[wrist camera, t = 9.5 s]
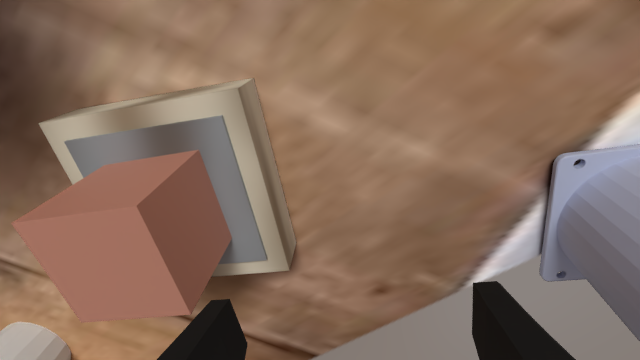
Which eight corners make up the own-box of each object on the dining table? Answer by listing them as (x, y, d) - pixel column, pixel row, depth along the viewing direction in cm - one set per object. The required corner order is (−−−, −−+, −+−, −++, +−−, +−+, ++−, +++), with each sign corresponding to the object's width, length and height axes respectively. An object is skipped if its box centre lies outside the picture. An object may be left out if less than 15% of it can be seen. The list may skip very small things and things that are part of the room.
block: (198, 149, 16) (136, 205, 11) (232, 237, 18) (190, 314, 13) (104, 164, 16) (11, 222, 12) (147, 247, 19) (81, 322, 14)
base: (253, 77, 17) (236, 89, 14) (296, 242, 21) (288, 273, 18) (77, 109, 18) (34, 124, 16) (150, 256, 22) (126, 285, 20)
